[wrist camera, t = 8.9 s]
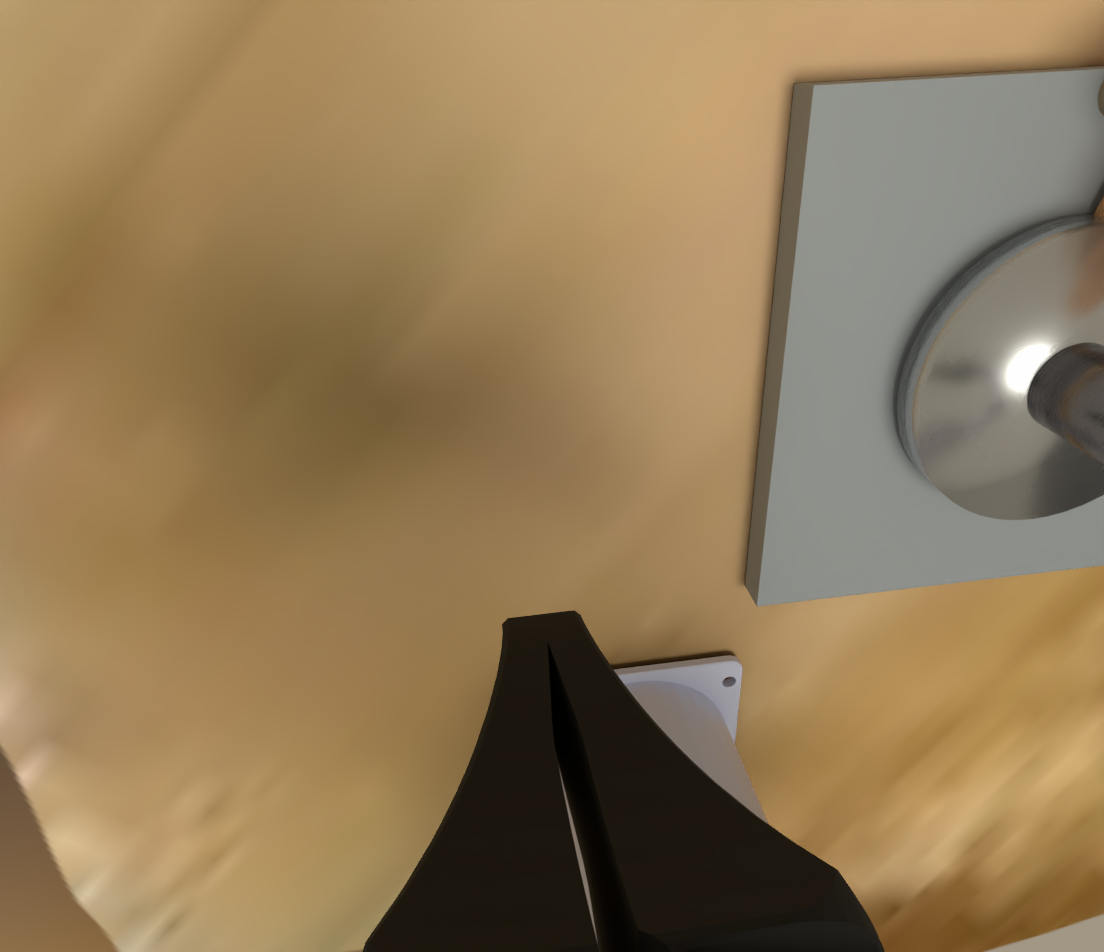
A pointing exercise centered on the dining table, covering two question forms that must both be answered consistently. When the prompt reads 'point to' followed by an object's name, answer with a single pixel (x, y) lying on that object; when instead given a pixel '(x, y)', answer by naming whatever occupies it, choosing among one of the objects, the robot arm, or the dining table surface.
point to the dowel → (1101, 98)
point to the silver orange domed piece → (1014, 377)
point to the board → (901, 320)
